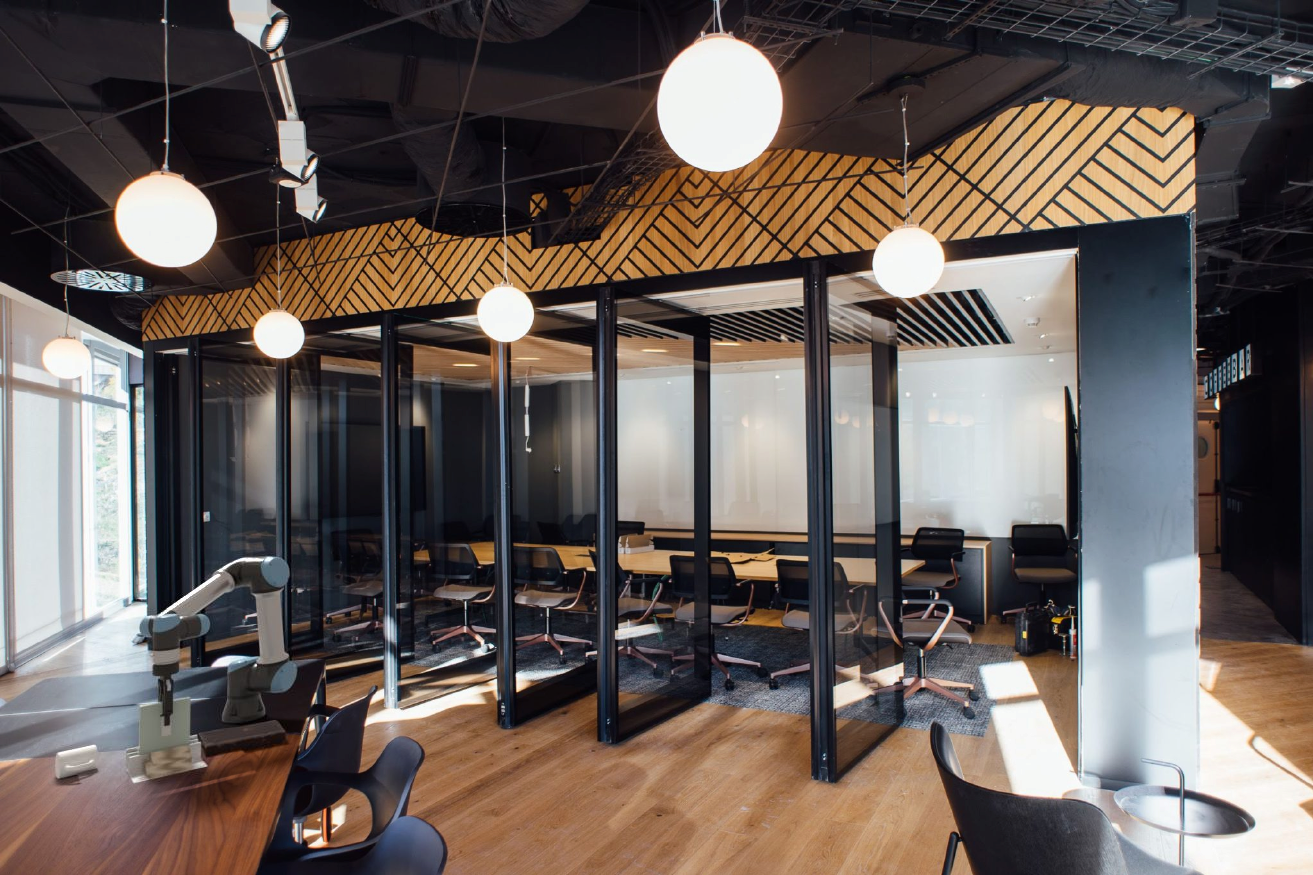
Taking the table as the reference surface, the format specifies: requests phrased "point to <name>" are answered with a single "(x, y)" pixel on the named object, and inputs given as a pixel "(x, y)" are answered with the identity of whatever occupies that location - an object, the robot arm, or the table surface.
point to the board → (152, 726)
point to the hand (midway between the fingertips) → (164, 733)
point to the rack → (137, 762)
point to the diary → (243, 737)
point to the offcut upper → (170, 755)
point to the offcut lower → (167, 767)
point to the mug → (76, 761)
